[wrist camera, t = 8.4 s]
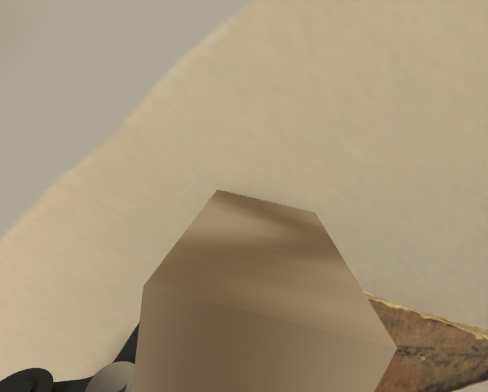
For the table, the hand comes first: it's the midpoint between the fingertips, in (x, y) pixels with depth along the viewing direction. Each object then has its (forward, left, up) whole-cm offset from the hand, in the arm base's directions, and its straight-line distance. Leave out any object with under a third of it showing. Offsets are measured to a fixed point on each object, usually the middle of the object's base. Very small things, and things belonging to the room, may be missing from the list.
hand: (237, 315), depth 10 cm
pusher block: (0, 0, -1) cm, 1 cm away
